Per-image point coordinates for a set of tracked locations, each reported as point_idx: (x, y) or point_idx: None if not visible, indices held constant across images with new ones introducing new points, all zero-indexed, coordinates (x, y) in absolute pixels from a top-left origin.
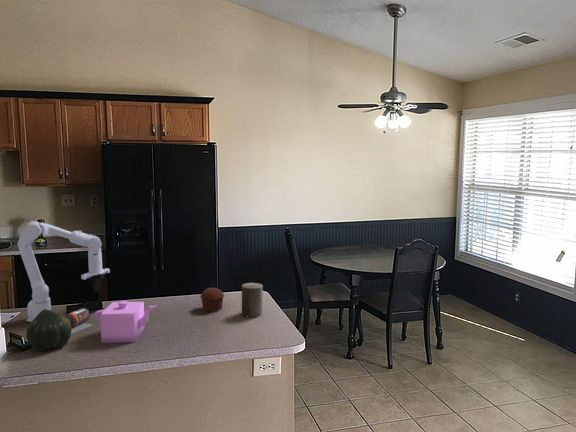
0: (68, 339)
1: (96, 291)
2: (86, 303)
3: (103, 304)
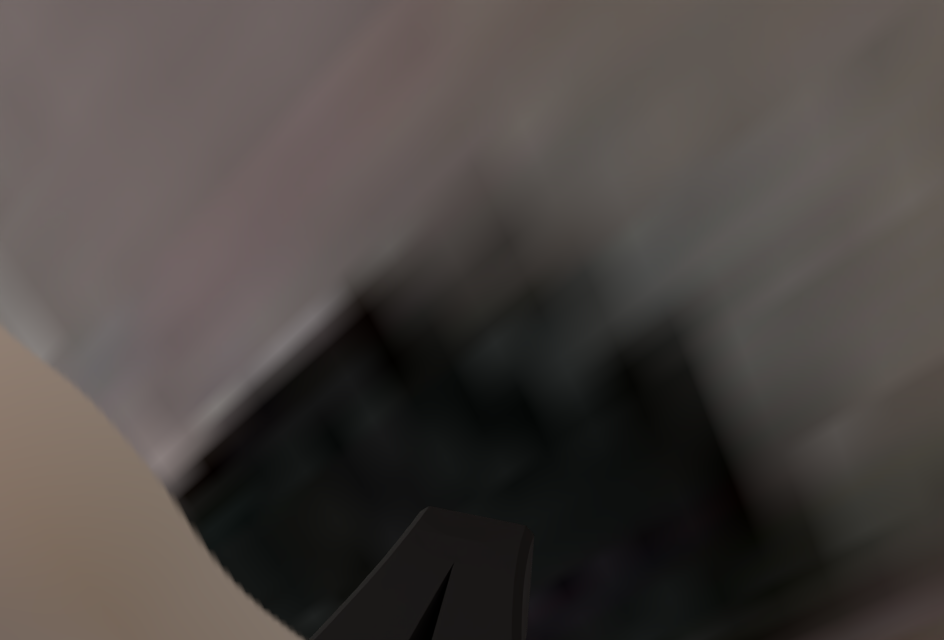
0: None
1: (530, 551)
2: None
3: (225, 405)
